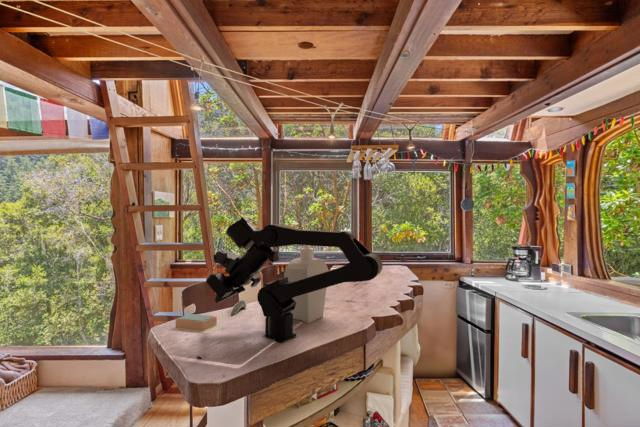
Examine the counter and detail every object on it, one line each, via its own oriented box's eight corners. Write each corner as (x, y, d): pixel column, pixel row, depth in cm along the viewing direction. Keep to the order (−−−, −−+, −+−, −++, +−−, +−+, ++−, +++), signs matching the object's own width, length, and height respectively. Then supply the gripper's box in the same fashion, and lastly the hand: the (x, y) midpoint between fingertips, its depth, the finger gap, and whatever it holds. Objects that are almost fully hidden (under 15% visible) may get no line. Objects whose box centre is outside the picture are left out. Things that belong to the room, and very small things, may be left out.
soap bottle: (301, 311, 122) (302, 232, 122) (328, 315, 117) (328, 233, 117) (278, 320, 111) (279, 233, 112) (307, 325, 106) (307, 234, 107)
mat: (229, 326, 105) (229, 324, 105) (210, 335, 96) (210, 333, 96) (193, 322, 109) (194, 320, 109) (172, 331, 100) (172, 328, 100)
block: (216, 316, 104) (189, 313, 107) (203, 321, 99) (175, 318, 102) (216, 324, 104) (189, 321, 107) (203, 330, 99) (175, 327, 102)
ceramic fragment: (233, 319, 113) (233, 306, 113) (217, 318, 114) (217, 306, 114) (247, 309, 127) (247, 298, 127) (233, 308, 128) (233, 297, 128)
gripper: (250, 238, 109) (218, 274, 112) (212, 241, 91) (175, 285, 94) (275, 265, 106) (241, 302, 109) (241, 275, 88) (202, 318, 91)
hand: (216, 301), depth 101 cm, fingers closed
